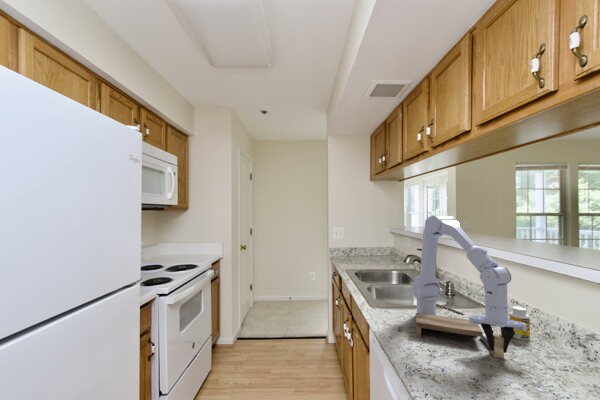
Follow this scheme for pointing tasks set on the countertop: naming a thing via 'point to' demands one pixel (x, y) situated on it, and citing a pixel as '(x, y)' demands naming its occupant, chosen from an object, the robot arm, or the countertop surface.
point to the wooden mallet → (496, 344)
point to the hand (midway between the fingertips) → (497, 350)
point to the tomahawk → (450, 309)
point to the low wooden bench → (446, 325)
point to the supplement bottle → (520, 316)
